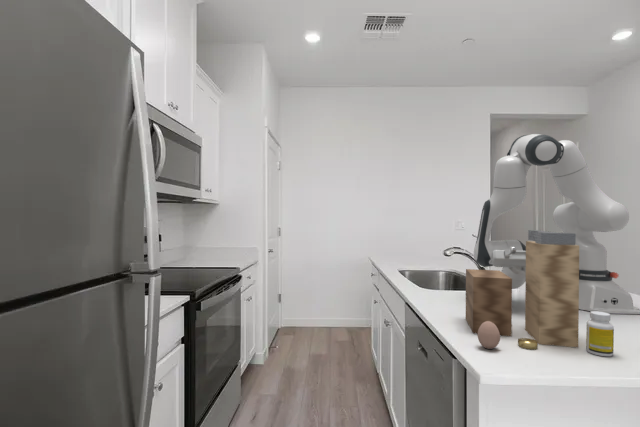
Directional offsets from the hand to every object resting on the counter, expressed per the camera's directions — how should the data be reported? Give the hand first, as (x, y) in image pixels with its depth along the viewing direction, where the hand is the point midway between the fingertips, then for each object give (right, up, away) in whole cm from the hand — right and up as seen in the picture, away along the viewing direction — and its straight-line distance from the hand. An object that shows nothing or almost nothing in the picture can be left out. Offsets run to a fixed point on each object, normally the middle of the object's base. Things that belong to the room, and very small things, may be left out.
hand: (529, 249), depth 124 cm
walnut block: (-18, -22, -9) cm, 30 cm away
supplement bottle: (0, -23, -31) cm, 38 cm away
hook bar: (-3, +3, -14) cm, 15 cm away
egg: (-26, -23, -28) cm, 44 cm away
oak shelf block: (-5, -23, -19) cm, 30 cm away
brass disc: (-15, -23, -27) cm, 38 cm away
